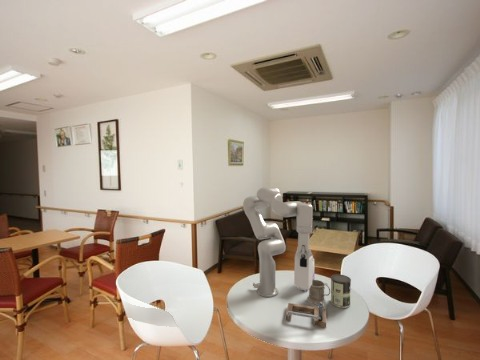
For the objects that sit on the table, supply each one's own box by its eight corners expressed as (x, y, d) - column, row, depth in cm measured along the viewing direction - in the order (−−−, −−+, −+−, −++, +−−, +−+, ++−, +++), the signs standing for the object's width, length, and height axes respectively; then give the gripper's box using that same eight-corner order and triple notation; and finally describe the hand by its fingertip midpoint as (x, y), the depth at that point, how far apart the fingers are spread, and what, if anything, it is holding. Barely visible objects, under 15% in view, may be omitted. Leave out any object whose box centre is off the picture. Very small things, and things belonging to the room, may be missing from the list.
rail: (286, 320, 125) (286, 311, 125) (287, 319, 126) (287, 310, 126) (320, 326, 121) (320, 317, 120) (320, 325, 122) (320, 316, 121)
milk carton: (308, 290, 123) (309, 251, 121) (294, 286, 126) (294, 249, 125) (312, 284, 129) (313, 247, 127) (298, 280, 133) (299, 245, 131)
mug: (303, 298, 146) (304, 277, 146) (316, 293, 151) (316, 274, 151) (323, 310, 134) (323, 288, 133) (336, 305, 139) (336, 283, 138)
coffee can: (348, 298, 145) (348, 274, 144) (352, 309, 135) (352, 283, 134) (329, 297, 147) (329, 273, 146) (331, 306, 137) (332, 281, 136)
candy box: (305, 281, 168) (306, 256, 166) (314, 283, 164) (315, 258, 163) (297, 289, 156) (297, 263, 155) (306, 292, 153) (307, 265, 152)
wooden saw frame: (285, 320, 125) (285, 315, 125) (288, 307, 137) (288, 302, 137) (326, 327, 120) (326, 322, 120) (325, 313, 131) (325, 308, 131)
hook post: (318, 323, 119) (318, 305, 119) (318, 318, 123) (318, 301, 122) (322, 323, 119) (322, 306, 118) (322, 318, 122) (322, 301, 122)
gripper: (297, 224, 135) (297, 256, 136) (295, 232, 118) (294, 269, 120) (312, 225, 133) (311, 257, 134) (311, 234, 116) (311, 271, 117)
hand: (303, 263), depth 127 cm, fingers closed on milk carton, 8 cm apart
